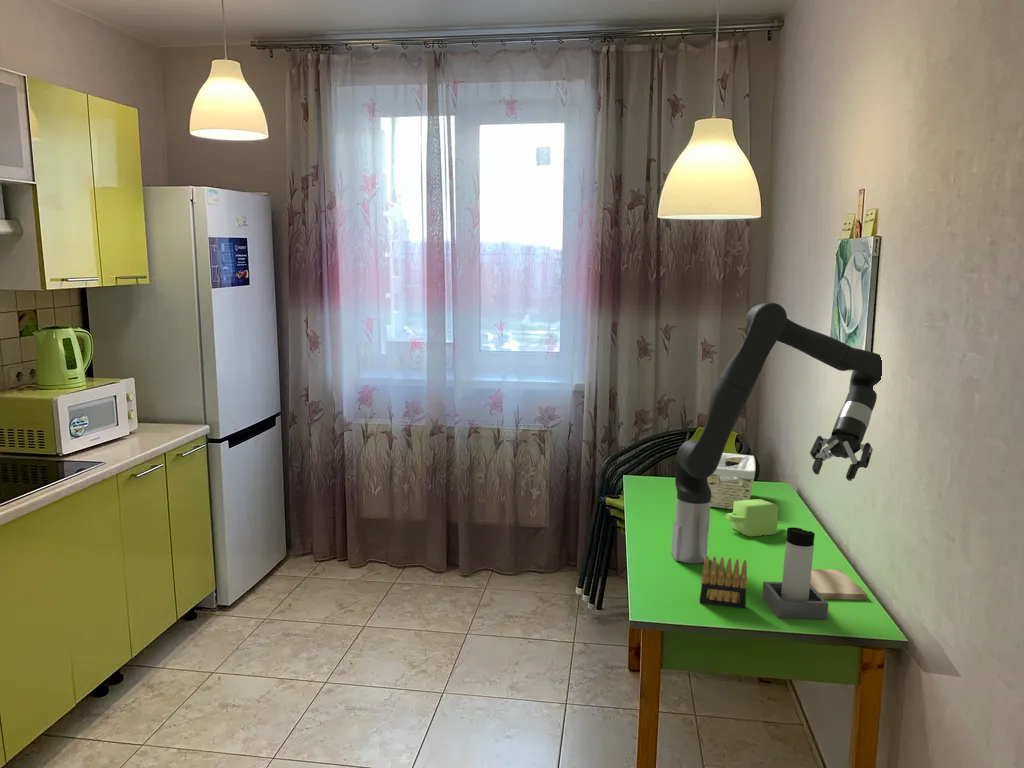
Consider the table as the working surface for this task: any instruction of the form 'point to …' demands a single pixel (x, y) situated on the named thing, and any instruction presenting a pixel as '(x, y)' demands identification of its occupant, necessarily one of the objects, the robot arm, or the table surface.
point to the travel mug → (797, 564)
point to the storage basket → (732, 480)
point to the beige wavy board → (835, 585)
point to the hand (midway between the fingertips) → (831, 476)
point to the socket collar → (794, 603)
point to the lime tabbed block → (754, 517)
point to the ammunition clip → (724, 584)
